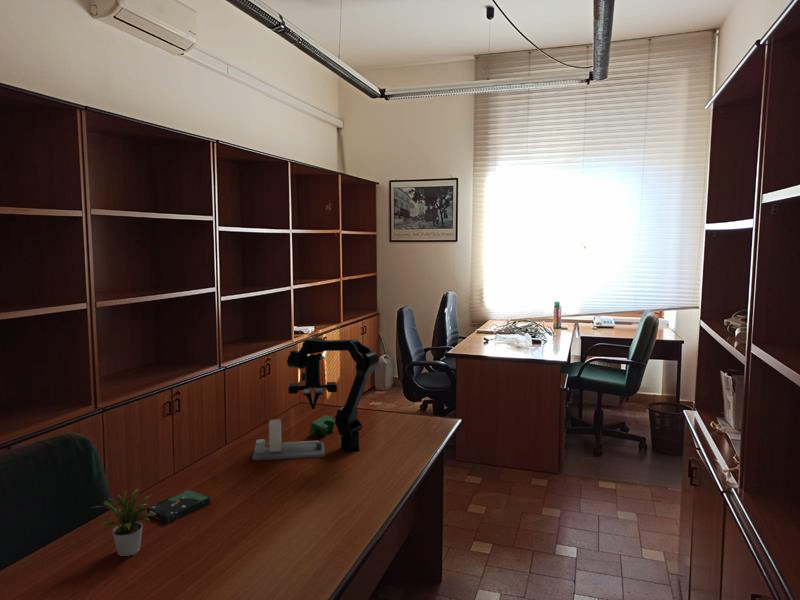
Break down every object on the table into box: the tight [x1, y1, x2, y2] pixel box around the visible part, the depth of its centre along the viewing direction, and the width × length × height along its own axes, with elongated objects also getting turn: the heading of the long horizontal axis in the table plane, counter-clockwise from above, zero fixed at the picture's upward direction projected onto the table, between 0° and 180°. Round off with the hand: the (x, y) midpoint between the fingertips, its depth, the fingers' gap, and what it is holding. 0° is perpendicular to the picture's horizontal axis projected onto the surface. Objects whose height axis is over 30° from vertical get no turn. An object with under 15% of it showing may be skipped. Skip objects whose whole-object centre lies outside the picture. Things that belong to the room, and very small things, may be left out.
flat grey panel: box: [251, 439, 326, 461], centre depth 216 cm, size 26×12×5 cm, turn 99°
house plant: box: [91, 487, 154, 557], centre depth 147 cm, size 14×14×16 cm
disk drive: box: [146, 489, 211, 524], centre depth 172 cm, size 10×3×15 cm
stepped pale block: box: [268, 418, 282, 452], centre depth 215 cm, size 4×6×10 cm, turn 9°
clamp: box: [309, 414, 336, 437], centre depth 237 cm, size 12×6×9 cm, turn 148°
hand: (313, 408), depth 227 cm, fingers closed
